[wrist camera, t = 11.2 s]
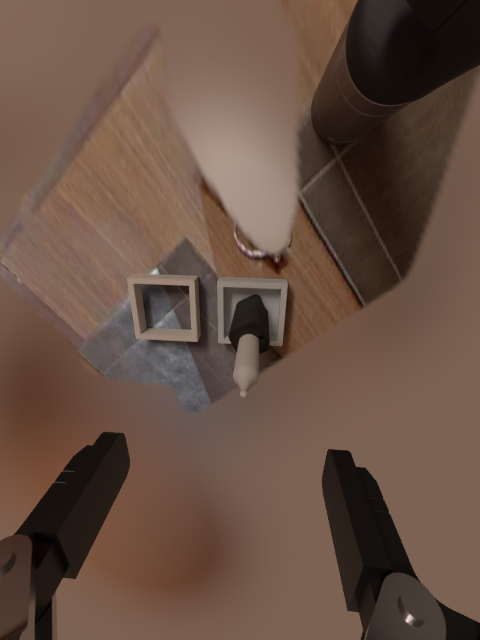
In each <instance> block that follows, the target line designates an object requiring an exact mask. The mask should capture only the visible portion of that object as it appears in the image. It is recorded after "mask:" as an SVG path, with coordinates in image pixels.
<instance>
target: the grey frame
mask: <svg viewBox="0 0 480 640" xmlns="http://www.w3.org/2000/svg"><path fill="white" fill-rule="evenodd" d="M127 282H128V288H129V295H130V302H131V308H132V315H133V321H134V328H135V335H136V339H150V340H169V341H189V342H198V340H199V338H200V336H201V328H200V306H199V283H198V276H183V275H154V274H133V275H131V276H129V277H127ZM141 284H158V285H185V286H189V294H190V311H191V328H192V330H181V329H160V328H147V326H146V319H145V311H144V304H143V296H142V289H141Z"/></svg>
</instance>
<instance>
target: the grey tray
mask: <svg viewBox="0 0 480 640" xmlns="http://www.w3.org/2000/svg"><path fill="white" fill-rule="evenodd" d="M287 288H288V283H287V279H268V278H239V277H219V279H218V281H217V289H218V343H228V344H231V342H230V340H229V337H228V335H229V331H230V327H231V323H232V320H233V316H234V312H235V308H236V304H237V303H238V302H239V301H241V300H243V299H245V298H247V297H249V296H252V295H254V294H256V295H259V296H260V297H261V298H262V302H263V304H264V306H265V308H266V310H268V318H269V337H270V346H282V344H283V333H284V321H285V310H286V299H287Z"/></svg>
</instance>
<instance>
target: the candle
mask: <svg viewBox="0 0 480 640" xmlns="http://www.w3.org/2000/svg"><path fill="white" fill-rule="evenodd" d="M228 337H229V340H230V342H231V344H232V345H233V347H234V349H235V351H236V352H237V355H236V361H235V367H234V373H233V379H234V381H235V383H236V384H237V385H238V386H239V388H240V390H241V392H240V396H241V397H242V398H246V397H247V396H248V391H249V389H250V387H252V386H254V385H255V384H256V383H257V381H258V378H259V354H260V353H263V352H265V351H267V350H268V349H269V347H270V337H269V318H268V310H266V308H265V306H264V304H263V302H262V298H261V297H260V296H259V295H256V294H254V295H252V296H249V297H247V298H245V299H243V300H241V301H239V302H238V303H237V304H236V308H235V312H234V316H233V320H232V323H231V327H230V331H229V335H228Z"/></svg>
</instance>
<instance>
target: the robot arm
mask: <svg viewBox="0 0 480 640" xmlns="http://www.w3.org/2000/svg"><path fill="white" fill-rule="evenodd" d="M478 65H480V0H358V2H357V4H356V6H355V8H354V10H353V12H352V14H351V17H350V19H349V21H348V23H347V25H346V27H345V29H344V31H343V33H342V35H341V37H340V39H339V42H338V44H337V46H336V48H335V50H334V52H333V54H332V57H331V59H330V61H329V63H328V65H327V68H326V70H325V72H324V74H323V76H322V78H321V81H320V83H319V85H318V87H317V89H316V92H315V94H314V97H313V101H312V108H311V115H312V122H313V125H314V128H315V130H316V132H317V133H318V135H319V136H320V137H321V138H322V139H323V140H325V141H326V142H328V143H331V144H334V145H345V144H349V143H352V142H354V141H355V140H357V139H359V138H360V137H362V136H363V135H365V134H366V133H368V132H369V131H371V130H372V129H374V128H375V127H376V126H378V125H379V124H381V123H382V122H384V121H385V120H387V119H388V118H390V117H391V116H392V115H394V114H395V113H397V112H398V111H400V110H401V109H403V108H404V107H405V106H407V105H408V104H410V103H411V102H413V101H416V100H418V99H420V98H422V97H424V96H426V95H427V94H429V93H431V92H432V91H434V90H435V89H437V88H439V87H440V86H442V85H444V84H445V83H447V82H449V81H451V80H453V79H454V78H456V77H458V76H460V75H462V74H464V73H466V72H467V71H469V70H471V69H473V68H475V67H477V66H478ZM129 466H130V458H129V453H128V448H127V443H126V438H125V435H124V434H123V433H114V432H103V433H102V434H101V435H100V436H99V438H98V439H97V440H96V442H95V443H94V445H93V446H90V445H87V446H86V447H84V448H83V449H82V450H81V451H79V452H78V453H77V454H76V455H74V456H73V458H72V459H71V460H70V462H69V463H68V464H67V466H66V467H65V468H64V471H63V472H61V473H60V475H59V476H58V477H57V479H56V480H55V483H54V484H52V485H51V487H50V488H49V489H48V491H47V492H46V494H45V495H44V496H43V497H42V499H41V500H40V501H39V503H38V504H37V505H36V507H35V508H34V509H33V511H32V512H31V513H30V515H29V516H28V518H27V519H26V520H25V521H24V523H23V524H22V525H21V527H20V528H19V529H18V530H17V532H16V533H15V534H14V535H12V536H9V537H6V538H4V539H2V540H0V640H57V623H56V622H57V620H56V619H57V618H56V592H55V591H56V589H57V588H58V586H59V584H60V582H61V580H62V578H71V579H76V577H77V575H78V573H79V571H80V569H81V567H82V565H83V563H84V561H85V559H86V557H87V555H88V553H89V551H90V549H91V547H92V545H93V543H94V541H95V539H96V537H97V535H98V533H99V531H100V529H101V527H102V525H103V523H104V521H105V519H106V517H107V515H108V513H109V511H110V509H111V507H112V505H113V503H114V501H115V499H116V497H117V495H118V493H119V491H120V489H121V487H122V485H123V483H124V481H125V479H126V477H127V474H128V471H129ZM322 489H323V496H324V501H325V505H326V510H327V515H328V520H329V524H330V529H331V534H332V539H333V544H334V548H335V553H336V558H337V562H338V567H339V572H340V577H341V581H342V586H343V591H344V596H345V601H346V605H347V610H348V611H354V612H359V614H360V619H361V623H362V627H363V632H362V634H361V637H360V640H480V623H479V622H476V621H474V620H472V619H470V618H468V617H466V616H464V615H462V614H460V613H458V612H456V611H453V610H452V609H450V608H448V607H446V606H445V605H443V604H442V603H440V602H439V601H438V600H437V599H436V598H434V597H433V595H432V594H431V593H430V592H429V590H428V589H426V587H425V586H424V585H423V584H421V582H420V581H419V579H418V578H417V576H416V574H415V572H414V571H413V569H412V566H411V564H410V561H409V559H408V556H407V554H406V551H405V549H404V547H403V544H402V542H401V539H400V537H399V535H398V533H397V530H396V527H395V525H394V523H393V520H392V518H391V515H390V514H389V510H388V508H387V506H386V504H385V501H384V500H383V496H382V493H381V491H380V489H379V486H378V484H377V482H376V480H375V479H374V478H373V477H372V475H371V474H370V473H369V472H368V470H367V469H366V468H361V467H356V466H355V463H354V461H353V458H352V455H351V453H350V452H349V451H346V450H333V449H328V451H327V455H326V460H325V465H324V470H323V476H322Z"/></svg>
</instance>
